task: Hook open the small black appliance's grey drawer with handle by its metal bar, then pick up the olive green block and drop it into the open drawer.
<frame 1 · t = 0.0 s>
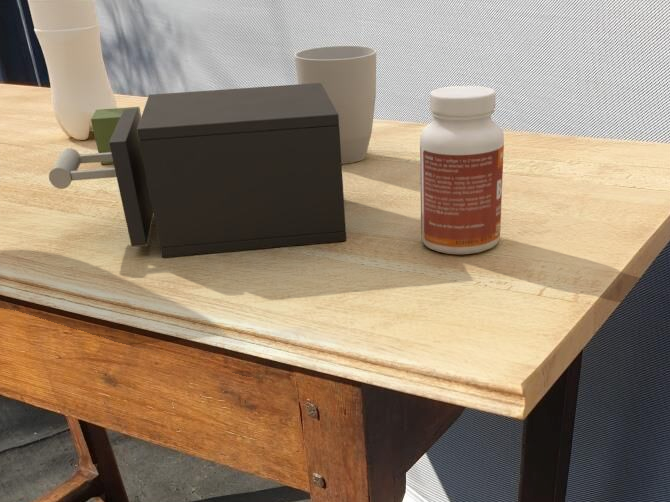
grey drawer with handle: (178, 171, 68), point 5 cm above the table, slide at 1.0 cm
cup: (341, 159, 88), on the table
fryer: (252, 223, 71), on the table
block: (124, 157, 91), on the table
pill bottle: (460, 245, 66), on the table
water bottle: (91, 136, 100), on the table
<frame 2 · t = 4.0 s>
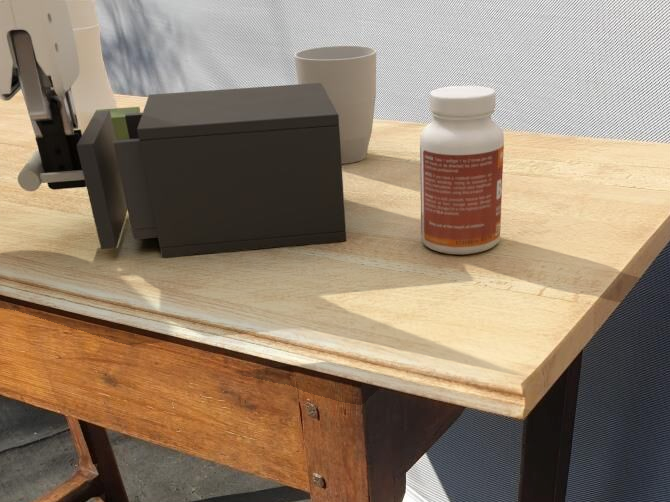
hand: (71, 184, 67), 4 cm above the table, tool pointing down, fingers closed
grey drawer with handle: (149, 173, 67), point 5 cm above the table, slide at 3.3 cm
everything else where it was.
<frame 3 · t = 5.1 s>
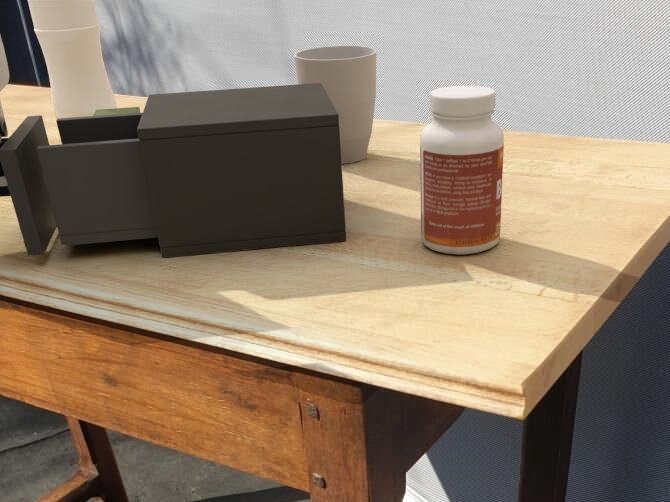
hand: (1, 193, 66), 4 cm above the table, tool pointing down, fingers closed
grey drawer with handle: (79, 179, 67), point 5 cm above the table, slide at 8.8 cm, touching gripper
everything else where it was.
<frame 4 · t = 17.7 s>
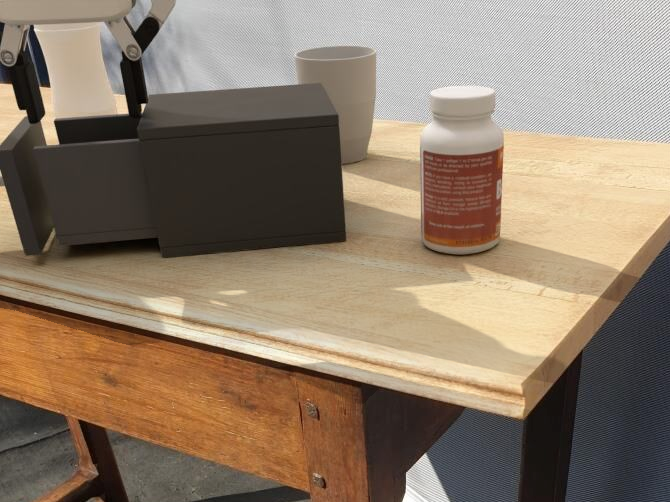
hand: (87, 115, 64), 10 cm above the table, tool pointing down, fingers open, 6 cm apart
grey drawer with handle: (76, 179, 67), point 5 cm above the table, slide at 9.0 cm, touching block
block: (115, 211, 69), point 2 cm above the table, touching grey drawer with handle
everything else where it was.
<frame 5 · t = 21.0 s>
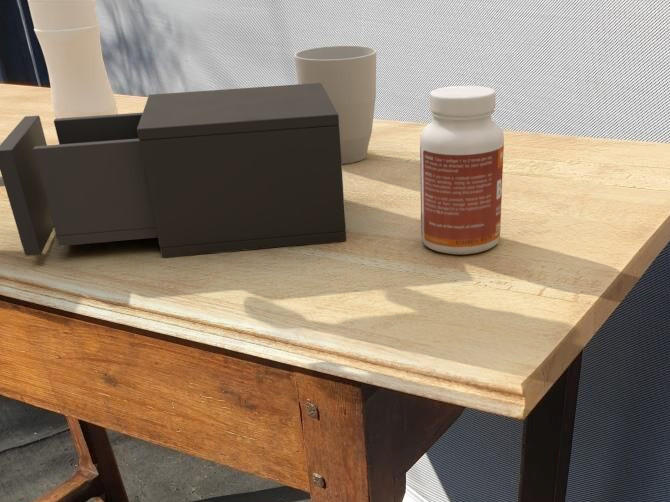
nothing on the table moved.
at the end: grey drawer with handle slide at 9.0 cm; block inside the target area in the grey drawer with handle (1.1 cm from its centre), point 2.0 cm above the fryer's base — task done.
